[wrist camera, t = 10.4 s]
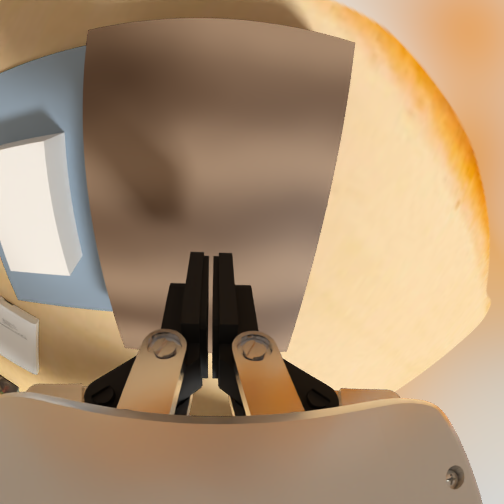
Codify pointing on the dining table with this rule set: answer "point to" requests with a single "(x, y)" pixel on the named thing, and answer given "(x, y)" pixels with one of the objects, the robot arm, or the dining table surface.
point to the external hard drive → (19, 336)
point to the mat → (71, 122)
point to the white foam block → (37, 207)
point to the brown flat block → (210, 159)
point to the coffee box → (7, 386)
